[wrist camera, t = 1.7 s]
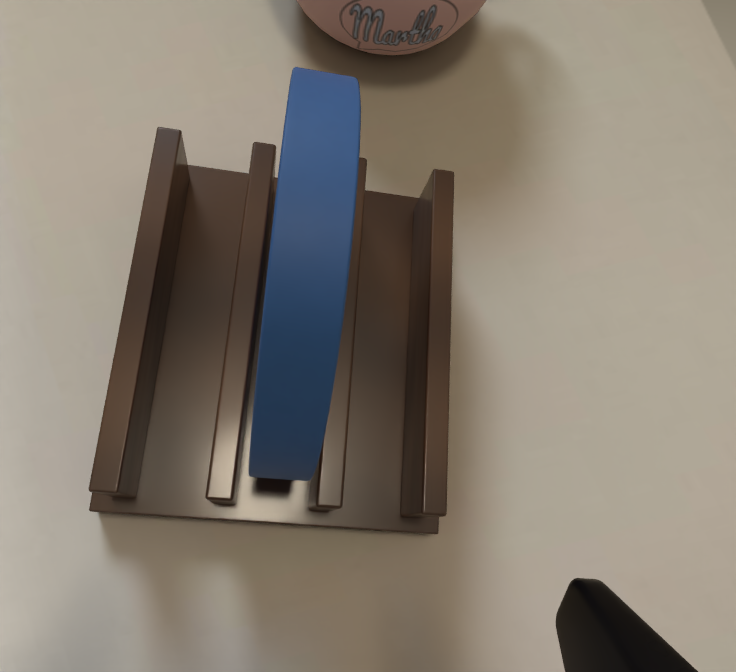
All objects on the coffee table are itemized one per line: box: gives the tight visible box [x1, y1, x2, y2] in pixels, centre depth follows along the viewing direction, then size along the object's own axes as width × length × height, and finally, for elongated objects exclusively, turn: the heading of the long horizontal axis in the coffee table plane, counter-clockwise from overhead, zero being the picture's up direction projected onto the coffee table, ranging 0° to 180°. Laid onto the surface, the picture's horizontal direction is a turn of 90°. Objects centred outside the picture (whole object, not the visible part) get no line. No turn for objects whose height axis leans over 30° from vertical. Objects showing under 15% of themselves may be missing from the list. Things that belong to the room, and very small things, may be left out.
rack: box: [89, 127, 454, 534], centre depth 22 cm, size 13×12×4 cm
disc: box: [249, 67, 361, 481], centre depth 18 cm, size 11×2×11 cm, turn 176°
